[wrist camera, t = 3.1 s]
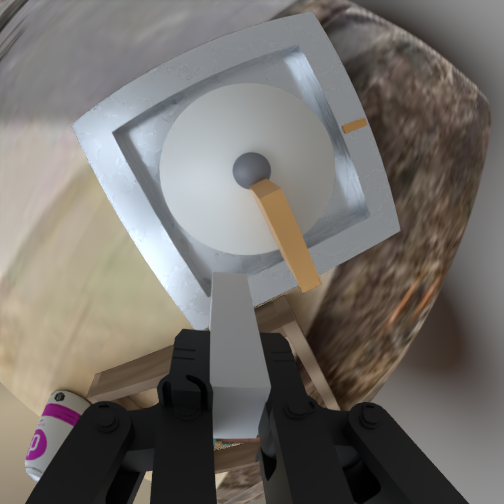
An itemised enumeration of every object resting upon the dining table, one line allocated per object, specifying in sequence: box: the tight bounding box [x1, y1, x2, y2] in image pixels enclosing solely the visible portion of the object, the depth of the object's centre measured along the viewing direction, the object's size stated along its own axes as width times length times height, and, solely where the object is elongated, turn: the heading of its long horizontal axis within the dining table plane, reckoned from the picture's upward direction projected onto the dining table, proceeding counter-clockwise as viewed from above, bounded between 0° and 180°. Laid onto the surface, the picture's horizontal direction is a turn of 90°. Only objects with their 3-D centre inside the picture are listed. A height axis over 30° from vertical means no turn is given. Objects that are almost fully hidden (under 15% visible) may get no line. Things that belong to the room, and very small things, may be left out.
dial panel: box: [72, 11, 400, 330], centre depth 19 cm, size 20×20×3 cm
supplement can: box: [25, 390, 91, 483], centre depth 22 cm, size 8×8×15 cm
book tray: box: [87, 295, 341, 474], centre depth 28 cm, size 24×24×4 cm
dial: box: [160, 83, 335, 293], centre depth 16 cm, size 13×12×7 cm
